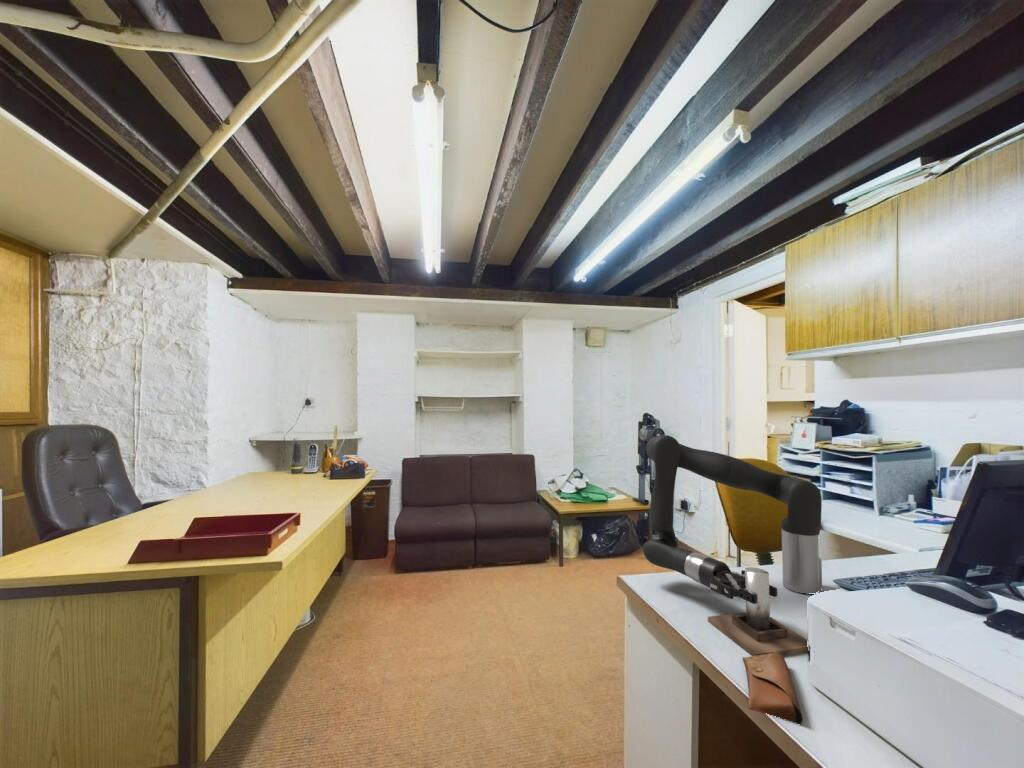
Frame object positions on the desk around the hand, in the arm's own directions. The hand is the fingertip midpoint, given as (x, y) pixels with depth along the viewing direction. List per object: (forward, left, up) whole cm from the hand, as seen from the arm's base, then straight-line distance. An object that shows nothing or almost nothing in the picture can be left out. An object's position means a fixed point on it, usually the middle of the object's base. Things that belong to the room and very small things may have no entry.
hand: (766, 596), depth 98 cm
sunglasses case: (+13, +14, -11) cm, 22 cm away
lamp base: (+1, -2, -10) cm, 10 cm away
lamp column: (+1, -2, -9) cm, 9 cm away
